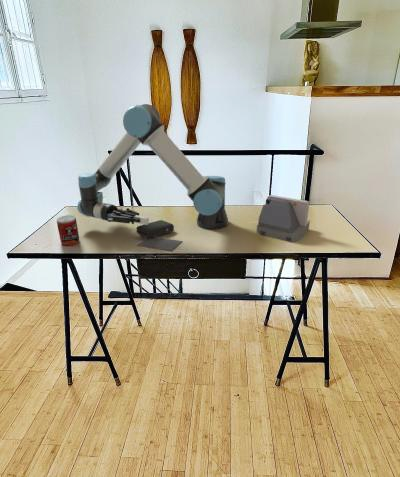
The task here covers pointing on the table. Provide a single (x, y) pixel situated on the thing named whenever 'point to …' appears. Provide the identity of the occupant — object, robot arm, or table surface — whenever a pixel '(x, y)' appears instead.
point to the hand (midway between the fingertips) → (147, 221)
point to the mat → (160, 243)
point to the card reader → (155, 229)
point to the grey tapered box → (284, 218)
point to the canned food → (68, 230)
